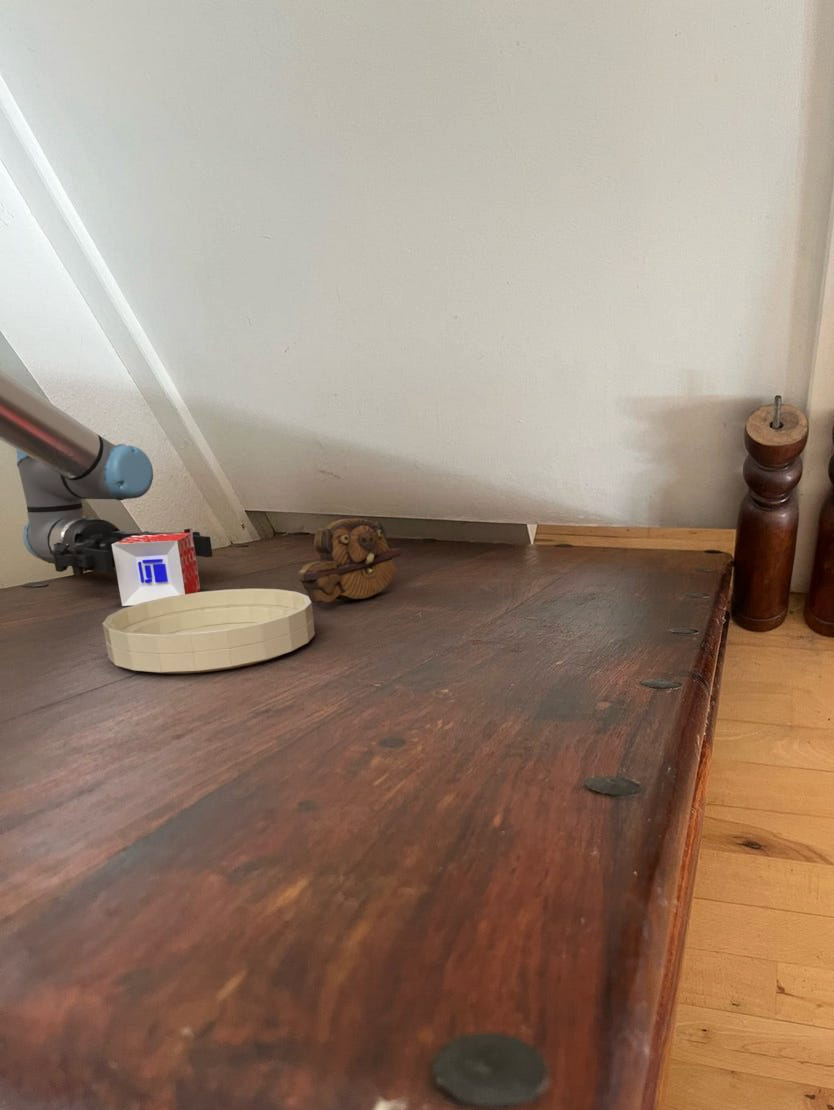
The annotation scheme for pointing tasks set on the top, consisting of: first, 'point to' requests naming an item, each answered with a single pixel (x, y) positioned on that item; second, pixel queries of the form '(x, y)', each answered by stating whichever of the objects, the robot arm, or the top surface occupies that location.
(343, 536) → the wooden carving
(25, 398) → the robot arm
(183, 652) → the bowl
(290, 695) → the top surface
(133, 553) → the red boxy piece
